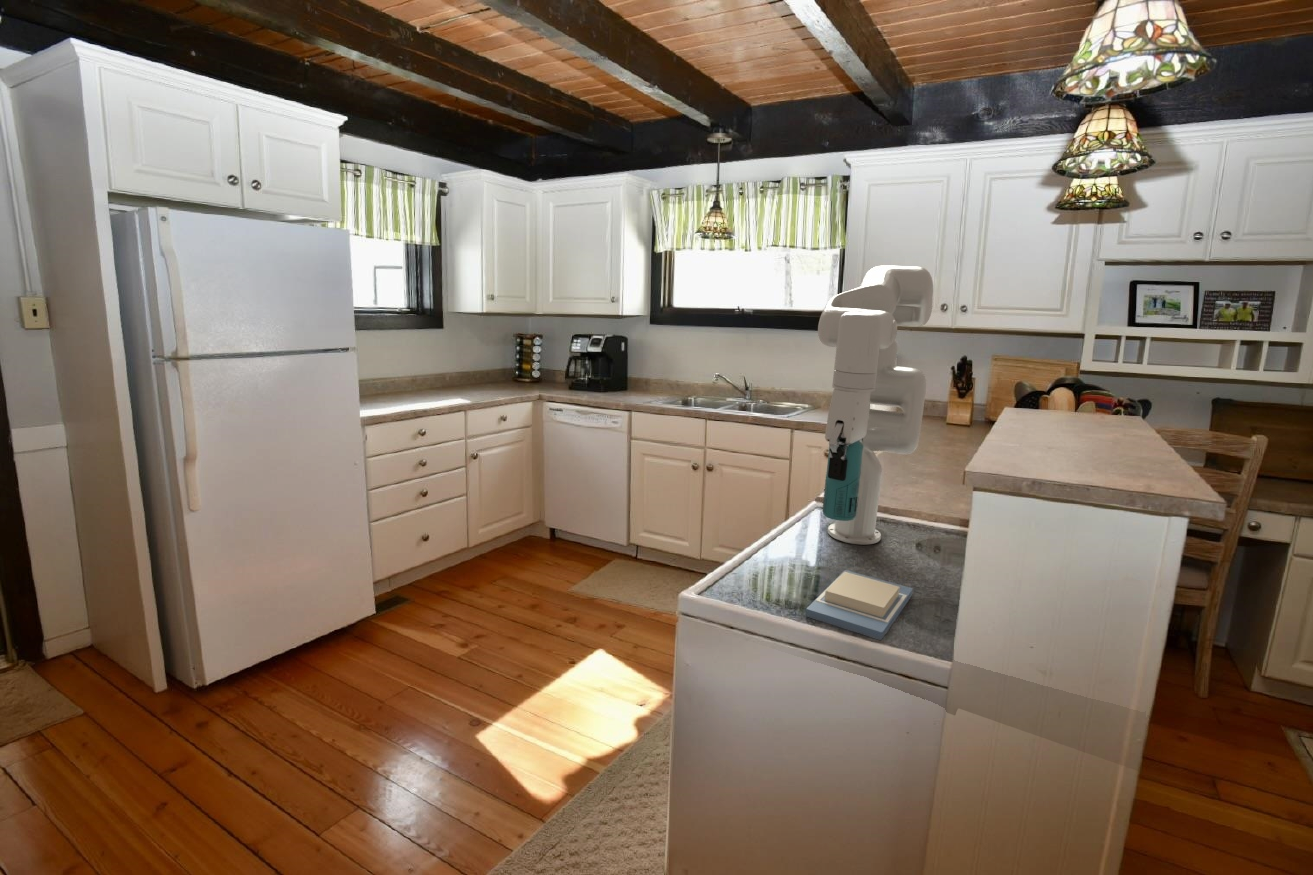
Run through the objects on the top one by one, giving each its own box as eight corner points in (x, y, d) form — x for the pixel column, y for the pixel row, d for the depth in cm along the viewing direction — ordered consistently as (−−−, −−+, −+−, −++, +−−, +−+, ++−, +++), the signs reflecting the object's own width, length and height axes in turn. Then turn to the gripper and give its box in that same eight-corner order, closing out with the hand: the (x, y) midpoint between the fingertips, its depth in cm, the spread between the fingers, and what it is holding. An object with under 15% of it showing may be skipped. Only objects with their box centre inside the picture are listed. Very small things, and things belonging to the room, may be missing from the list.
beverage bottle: (848, 531, 128) (861, 426, 124) (814, 522, 132) (825, 420, 127) (860, 521, 134) (872, 420, 129) (827, 513, 137) (838, 415, 133)
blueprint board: (844, 576, 147) (846, 560, 146) (912, 595, 139) (914, 579, 139) (805, 616, 129) (807, 598, 128) (881, 640, 121) (883, 621, 121)
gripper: (850, 373, 135) (841, 462, 140) (816, 383, 121) (806, 481, 126) (889, 378, 131) (877, 469, 135) (857, 389, 117) (846, 490, 122)
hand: (843, 474), depth 131 cm, fingers closed on beverage bottle, 6 cm apart
